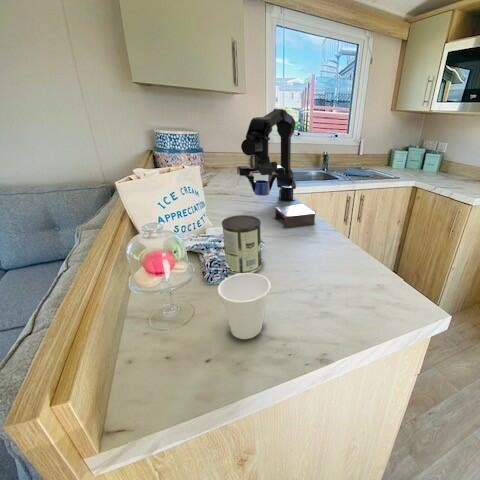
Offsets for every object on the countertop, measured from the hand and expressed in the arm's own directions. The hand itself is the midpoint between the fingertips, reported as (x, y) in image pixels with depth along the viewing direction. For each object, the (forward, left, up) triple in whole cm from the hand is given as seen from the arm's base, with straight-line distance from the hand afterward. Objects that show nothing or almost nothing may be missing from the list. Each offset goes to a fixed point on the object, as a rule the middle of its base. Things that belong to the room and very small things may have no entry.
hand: (261, 191), depth 116 cm
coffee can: (+18, +40, -11) cm, 45 cm away
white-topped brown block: (-11, +11, -11) cm, 19 cm away
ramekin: (0, 0, -1) cm, 1 cm away
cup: (+24, +66, -11) cm, 71 cm away
